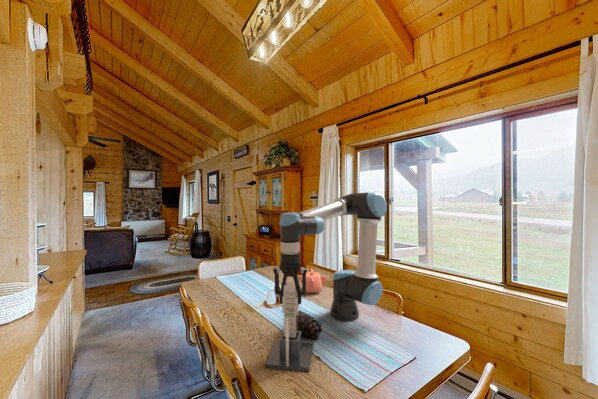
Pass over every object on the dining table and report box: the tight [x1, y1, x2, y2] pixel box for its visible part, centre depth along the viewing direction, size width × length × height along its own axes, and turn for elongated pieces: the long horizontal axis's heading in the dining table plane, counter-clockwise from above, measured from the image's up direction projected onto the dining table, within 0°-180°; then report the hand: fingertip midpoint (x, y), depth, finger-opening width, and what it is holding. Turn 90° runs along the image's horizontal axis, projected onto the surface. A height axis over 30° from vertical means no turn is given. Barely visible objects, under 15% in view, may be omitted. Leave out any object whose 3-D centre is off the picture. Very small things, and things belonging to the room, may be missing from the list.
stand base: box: [265, 316, 314, 372], centre depth 105 cm, size 16×16×19 cm
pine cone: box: [297, 309, 323, 342], centre depth 123 cm, size 10×18×10 cm, turn 63°
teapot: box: [298, 268, 328, 295], centre depth 178 cm, size 17×16×13 cm
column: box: [283, 281, 297, 338], centre depth 104 cm, size 4×5×20 cm
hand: (290, 311), depth 105 cm, fingers closed on column, 4 cm apart
